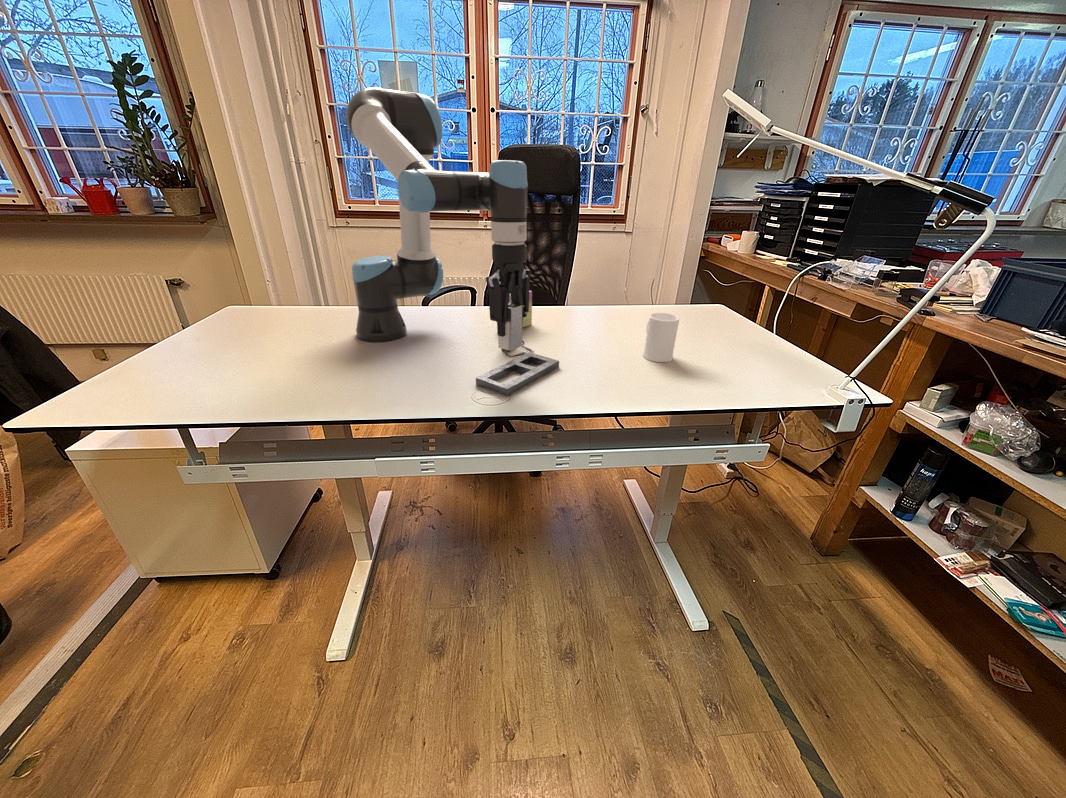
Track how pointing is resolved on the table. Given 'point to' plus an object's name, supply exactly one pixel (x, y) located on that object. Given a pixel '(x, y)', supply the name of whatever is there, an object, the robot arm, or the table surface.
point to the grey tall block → (514, 325)
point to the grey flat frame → (521, 367)
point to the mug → (660, 337)
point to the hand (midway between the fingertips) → (510, 345)
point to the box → (528, 318)
